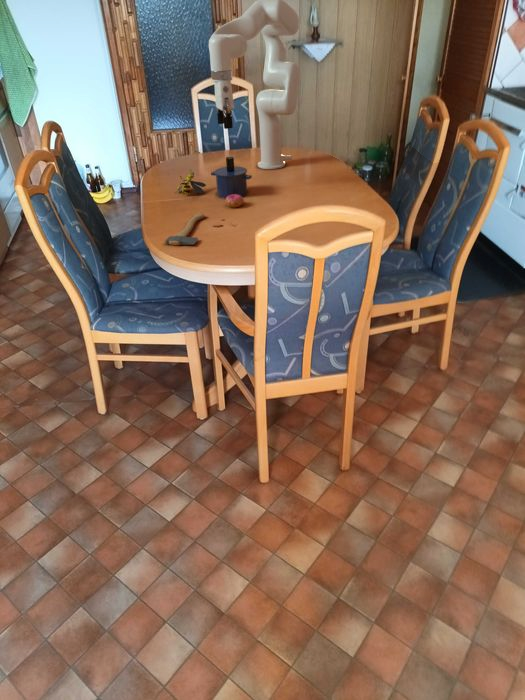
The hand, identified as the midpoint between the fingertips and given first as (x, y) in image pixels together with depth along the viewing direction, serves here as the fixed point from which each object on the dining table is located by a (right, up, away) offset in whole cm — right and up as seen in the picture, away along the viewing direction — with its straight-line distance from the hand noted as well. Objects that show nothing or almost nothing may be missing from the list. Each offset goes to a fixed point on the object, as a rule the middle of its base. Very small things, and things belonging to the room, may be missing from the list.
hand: (225, 125), depth 202 cm
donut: (+4, -31, -1) cm, 31 cm away
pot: (+2, -23, +11) cm, 25 cm away
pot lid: (+2, -16, +6) cm, 17 cm away
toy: (-16, -23, +12) cm, 30 cm away
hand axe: (-10, -45, -20) cm, 50 cm away
